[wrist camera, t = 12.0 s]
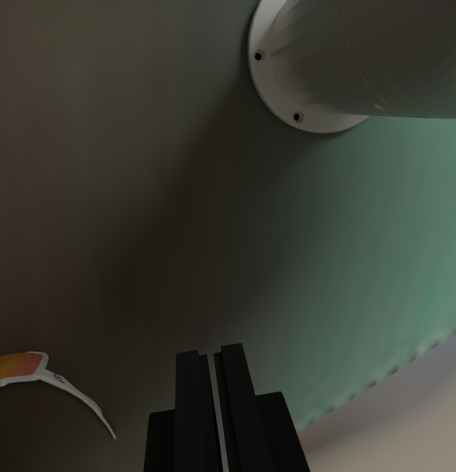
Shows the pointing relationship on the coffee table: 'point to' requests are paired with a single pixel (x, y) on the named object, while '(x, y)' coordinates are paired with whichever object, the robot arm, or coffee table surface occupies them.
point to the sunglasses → (41, 377)
